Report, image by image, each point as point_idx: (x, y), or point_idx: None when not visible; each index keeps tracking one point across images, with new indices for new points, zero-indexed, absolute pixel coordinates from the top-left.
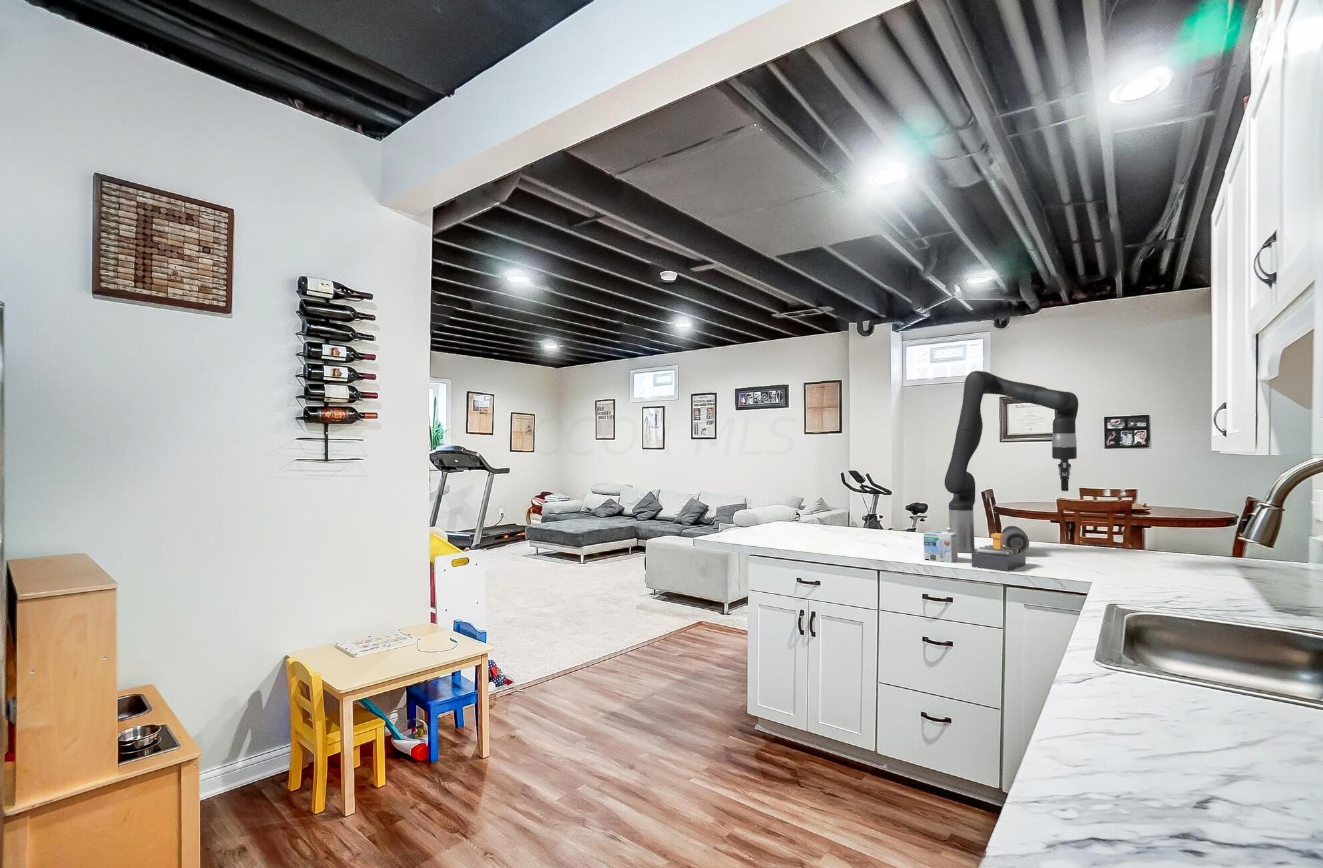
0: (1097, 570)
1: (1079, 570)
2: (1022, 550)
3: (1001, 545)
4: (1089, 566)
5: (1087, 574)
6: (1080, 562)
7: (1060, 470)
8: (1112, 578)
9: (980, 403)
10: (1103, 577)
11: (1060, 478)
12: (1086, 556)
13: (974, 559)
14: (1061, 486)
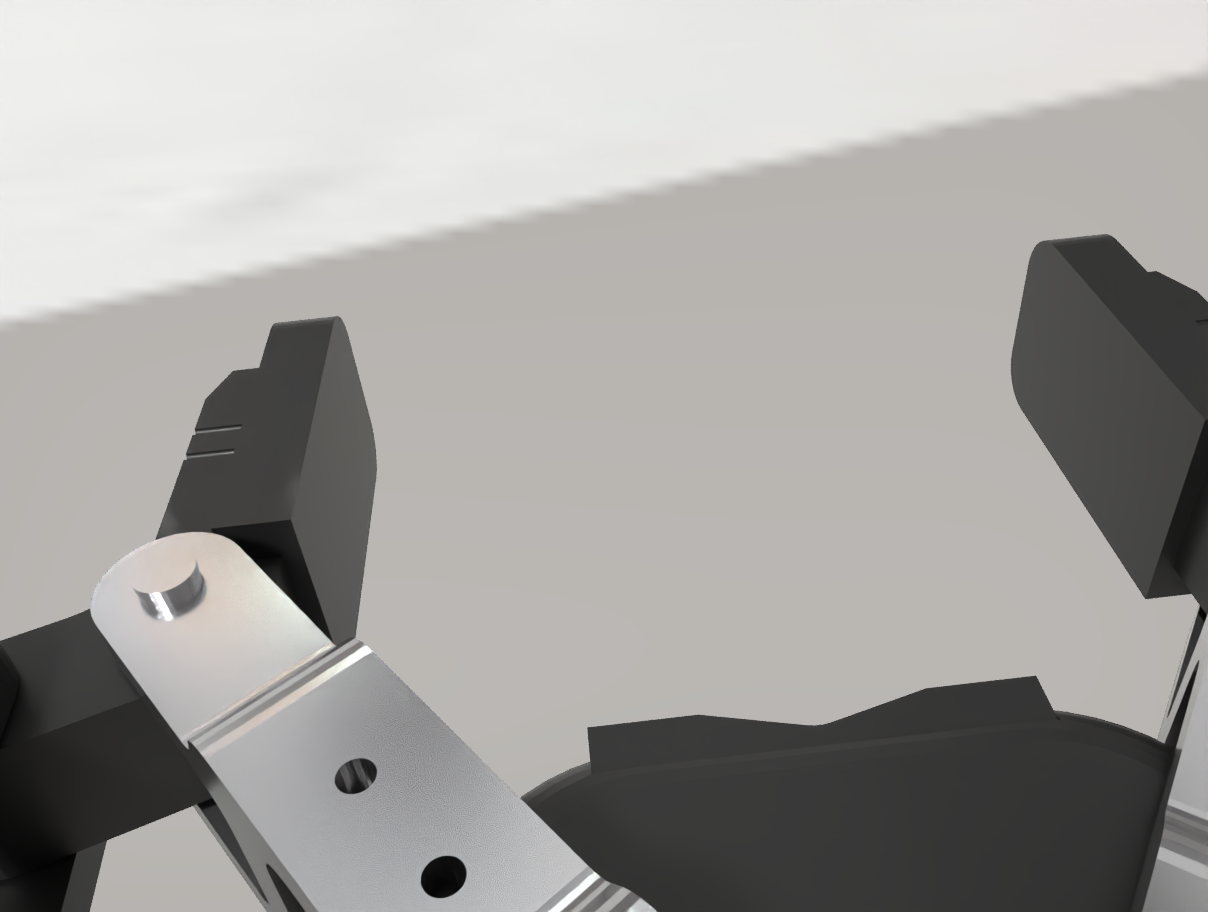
0: (364, 184)
1: (247, 46)
2: None
3: None
4: (555, 106)
5: (71, 129)
6: (766, 9)
7: (305, 904)
8: (38, 308)
9: None
10: (26, 251)
11: (140, 588)
12: (1200, 27)
13: None
14: (256, 397)
